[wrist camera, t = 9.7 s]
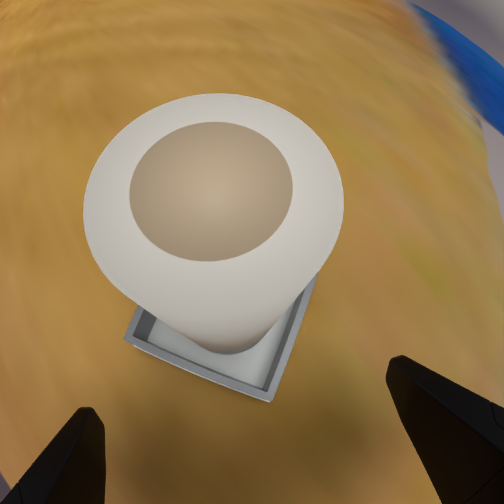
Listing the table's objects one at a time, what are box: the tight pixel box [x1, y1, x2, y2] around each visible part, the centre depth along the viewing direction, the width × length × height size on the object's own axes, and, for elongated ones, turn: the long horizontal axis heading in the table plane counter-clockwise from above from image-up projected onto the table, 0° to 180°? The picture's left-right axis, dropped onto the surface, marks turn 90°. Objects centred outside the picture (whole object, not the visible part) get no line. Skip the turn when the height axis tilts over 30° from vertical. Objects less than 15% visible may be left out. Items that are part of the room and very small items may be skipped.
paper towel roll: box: [83, 93, 344, 355], centre depth 13 cm, size 6×6×14 cm
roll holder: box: [123, 272, 318, 402], centre depth 18 cm, size 9×9×4 cm
